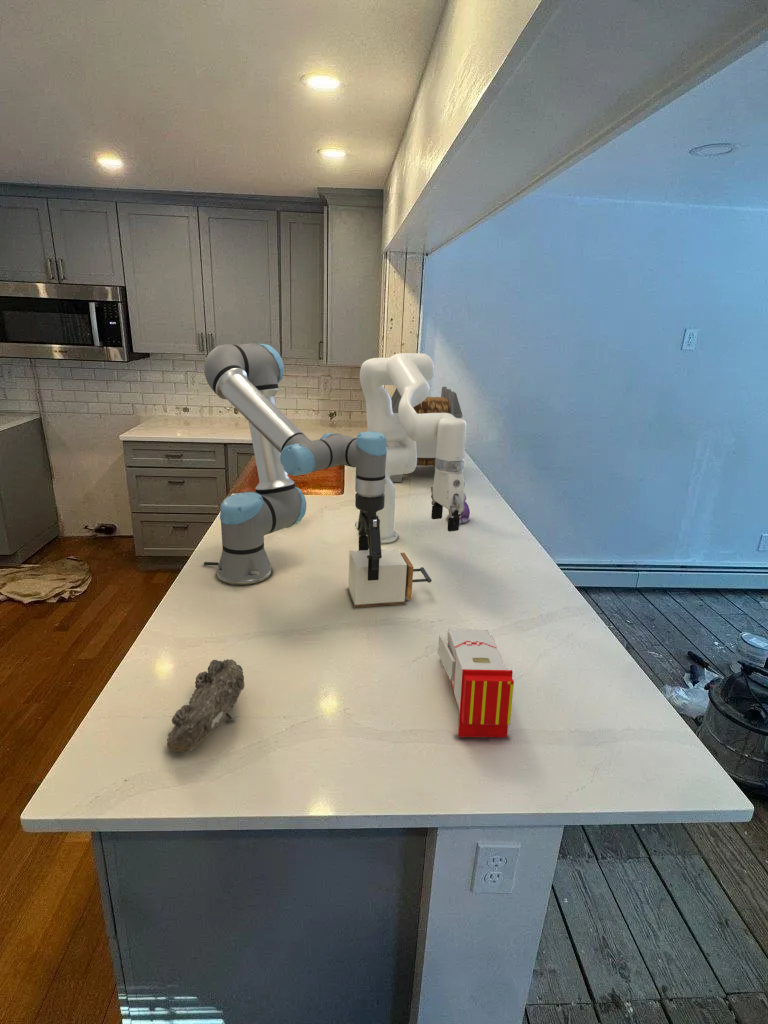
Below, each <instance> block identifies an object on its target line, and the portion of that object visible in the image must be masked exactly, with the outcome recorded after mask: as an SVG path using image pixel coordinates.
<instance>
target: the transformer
mask: <svg viewBox="0 0 768 1024" xmlns="http://www.w3.org/2000/svg"><path fill="white" fill-rule="evenodd" d="M440 393H441V394H440V396H427V398H426V399H425V400H424V401H423V402H421V403H420V404H418V405H416V406H415V407H413V408H414V410H415V412H416V413H417V414H422V413H449V414H452V415H453V416H454V417H456V418H459V419H463V420H464V421H465V422H466V420H465V419H464V418H463V411H462V408H461V405H460V402H459V398H458V395H457V392H455V391H453V390H452V389H451V388H447V386H442V387H441V392H440ZM401 398H402V397H401V395H400V394H399V392H398V390H397V388H396V387H395V390H394V392H393V394H392V395H391V401H392V411H393V413H398V408H399V403H400V400H401ZM393 446H399V445H398V442H389V443H386V447H393ZM436 447H437V441H423V442H416V448H417V465H416V467H417V466H418V467H435V461H436ZM403 475H404V474H400V475H392V476H390V477H389V478H390V480H391V481H392V482H393V483H402V482H403Z"/></svg>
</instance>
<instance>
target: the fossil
mask: <svg viewBox="0 0 768 1024" xmlns="http://www.w3.org/2000/svg"><path fill="white" fill-rule="evenodd" d="M243 670H244V669H243V667H242V665H240V664H237V662H236V661H235V660H234V659H232V658H231V659H227V658H226V659H224V660H223V661H222V660H217V659H212V660H211V661H210V663H209V665H208V666H207V671H201V672H199V673H198V674H197V675H196V676H195V680H194V684H195V685H194V687H195V689H194V690H193V693H192V694H191V697H190V698H189V700H188V704H184V705H182V706H181V707H180V709H177V710H176V711H175V713H174V715H173V716H172V718H171V723H172V724H173V727H172V730H171V731H170V732H168V734H167V738H166V741H167V742H166V745H167V749H168V750H169V751H173V752H174V753H176V754H178V753H182V752H188V751H189V752H192V751H193V750H195V748H196V747H197V746H199V744H200V743H201V742H203V741H204V740H205V739H206V738H207V737H208V736H209V735H210V734H211V733H212V732H214V730H215V729H217V727H218V726H219V724H220V722H221V721H222V720H223V719H224V718H225V716H226V717H227V719H229V720H233V717H232V715H230V714H229V710H230V709H231V708H234V706H235V704H236V703H237V702H238V699H239V697H240V695H241V693H242V691H243V690H245V689H244V688H245V675H244V671H243Z"/></svg>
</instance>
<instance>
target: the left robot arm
mask: <svg viewBox="0 0 768 1024" xmlns="http://www.w3.org/2000/svg"><path fill="white" fill-rule="evenodd" d="M203 365H204V366H203V369H204V370H203V371H204V377H205V380H206V382H207V384H208V387H209V388H210V389H211V390H212V391H213V393H214V394H216V395H217V396H218V397H219V398H220V399H222V400H227V401H228V402H229V403H230V404H231V405H232V406H233V407H234V408H235V409H236V410H237V411H238V412H239V413H240V414H241V415H242V416H243V417H244V418H245V419H246V420H247V421H248V426H249V432H250V438H251V443H252V448H253V453H254V459H255V465H256V470H257V476H258V484H257V485H256V486H255V488H254V490H255V491H245V492H237V493H233V494H231V495H229V496H227V497H226V498H224V499H223V500H222V502H221V504H220V510H219V511H220V514H219V520H220V530H221V531H220V532H221V544H222V547H221V548H222V551H221V554H220V559H219V562H217V561H215V562H214V561H204V562H203V565H204V566H217V570H216V574H217V578H218V580H220V581H221V582H223V583H225V584H228V585H233V586H247V585H255V584H258V583H260V582H263V581H265V580H267V579H268V578H269V577H270V576H271V575H272V565H271V562H270V559H269V557H268V554H267V552H266V550H265V536H267V535H269V534H272V533H275V532H279V531H281V530H283V529H289V528H291V527H293V526H295V525H297V524H299V523H300V522H301V521H302V520H303V519H304V517H305V515H306V513H307V512H306V511H307V499H306V497H305V494H304V493H303V491H302V489H301V488H299V487H297V486H296V483H295V481H294V480H292V479H291V478H290V477H289V476H292V477H297V476H303V475H310V474H311V473H314V472H315V473H316V472H318V471H321V470H327V469H330V468H333V467H337V466H346V467H350V468H355V488H354V489H355V499H354V500H355V501H354V507H355V508H356V509H357V510H359V514H358V521H357V522H358V528H357V529H356V530H357V531H358V532H357V533H358V551H360V550H369V555H367V558H368V581H371V580H379V558H382V555H381V549H382V543H381V540H380V519H378V516H376V512H377V511H379V510H382V509H383V508H384V502H385V495H384V494H383V493H384V492H385V484H387V480H385V467H386V454H387V449H386V437H385V435H384V434H382V433H379V432H368V431H361V432H358V433H357V435H356V437H354V436H349V435H345V434H342V433H337V432H327V433H324V435H322V436H321V437H320V438H318V439H314V440H311V439H310V438H309V437H308V436H307V435H306V434H305V433H304V432H302V430H301V429H300V428H299V427H297V426H296V425H295V424H294V423H293V421H291V419H289V418H288V417H287V416H286V415H285V414H284V413H283V412H282V411H281V410H280V409H279V408H278V407H277V403H276V397H275V396H276V394H277V393H278V392H279V390H280V389H279V384H280V382H281V381H282V380H283V378H284V377H283V376H284V373H285V368H284V366H285V365H284V362H283V359H282V356H281V355H280V354H279V352H278V351H277V350H276V349H275V348H274V347H273V346H271V345H270V344H266V343H259V342H253V343H235V344H230V343H228V344H227V343H225V344H221V345H218V346H216V347H214V348H213V349H212V350H211V351H210V352H209V353H208V355H207V356H206V358H205V360H204V364H203ZM366 535H367V536H366Z"/></svg>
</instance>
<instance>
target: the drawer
mask: <svg viewBox="0 0 768 1024" xmlns="http://www.w3.org/2000/svg"><path fill="white" fill-rule="evenodd" d="M400 554H401V556H402V557H403V559H404V561H405V562H406V564H407V572H406V587H405V600H412V593H413V583H425V582H426V583H429V584H430V583H431V582H432V581H433V579H432V578H431V577H430V575H429V573H428V572H427V571H426V569H425V567H423V566H420V567H419V568H414V565H413V564H412V562H411V560H410V559H409V557H408V555H407V554H406V553H405V552H400ZM415 572H420V573H421V574H422V576H423V578H417V579H414V573H415Z"/></svg>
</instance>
